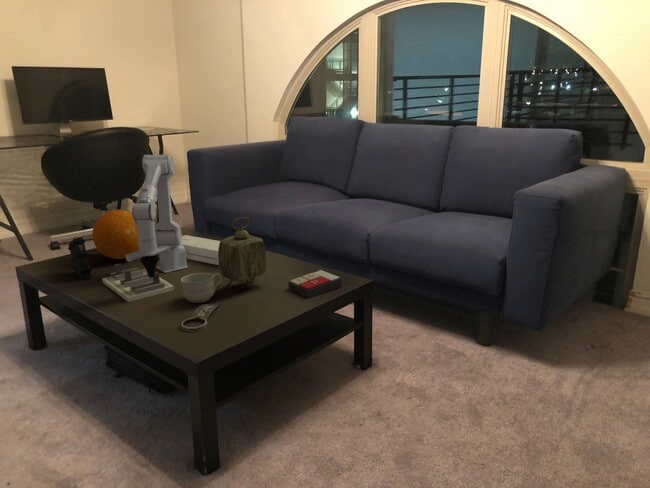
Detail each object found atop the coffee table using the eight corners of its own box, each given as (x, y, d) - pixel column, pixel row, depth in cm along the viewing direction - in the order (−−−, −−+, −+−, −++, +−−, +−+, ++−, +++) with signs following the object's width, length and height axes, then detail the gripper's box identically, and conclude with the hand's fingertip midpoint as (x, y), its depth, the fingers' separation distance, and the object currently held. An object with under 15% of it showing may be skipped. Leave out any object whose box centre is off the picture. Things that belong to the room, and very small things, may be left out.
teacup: (187, 308, 173) (184, 284, 171) (179, 297, 182) (176, 274, 180) (229, 300, 179) (227, 277, 177) (219, 289, 189) (218, 267, 186)
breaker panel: (145, 272, 206) (144, 265, 205) (173, 289, 189) (173, 281, 188) (102, 282, 196) (101, 274, 196) (128, 301, 179) (127, 293, 178)
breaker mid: (130, 282, 191) (129, 269, 190) (132, 283, 190) (130, 270, 189) (125, 283, 190) (123, 270, 189) (126, 285, 189) (125, 271, 188)
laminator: (167, 255, 228) (166, 241, 226) (188, 247, 238) (187, 234, 236) (230, 268, 211) (229, 253, 209) (250, 259, 221) (249, 245, 219)
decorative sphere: (100, 269, 211) (93, 218, 205) (92, 255, 227) (85, 208, 222) (152, 260, 220) (147, 212, 215) (141, 248, 237) (136, 202, 231)
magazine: (83, 278, 196) (73, 238, 197) (76, 284, 207) (66, 246, 207) (94, 276, 198) (83, 236, 199) (86, 282, 209) (76, 244, 210)
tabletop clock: (253, 278, 199) (250, 211, 191) (269, 284, 192) (266, 215, 185) (220, 289, 189) (215, 218, 182) (235, 296, 183) (231, 223, 176)
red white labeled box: (287, 280, 187) (321, 268, 196) (288, 291, 189) (321, 279, 198) (307, 288, 179) (341, 275, 188) (308, 300, 181) (342, 287, 190)
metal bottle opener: (224, 307, 175) (223, 301, 174) (202, 333, 157) (201, 327, 156) (201, 306, 176) (200, 300, 175) (176, 332, 158) (175, 326, 157)
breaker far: (121, 275, 198) (119, 263, 197) (122, 277, 197) (121, 264, 195) (115, 277, 197) (113, 264, 195) (117, 278, 196) (115, 265, 194)
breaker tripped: (158, 284, 189) (157, 271, 187) (160, 286, 188) (159, 273, 186) (153, 286, 188) (151, 273, 186) (155, 287, 186) (153, 274, 185)
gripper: (130, 245, 174) (134, 285, 178) (172, 236, 183) (176, 274, 187) (121, 240, 179) (126, 279, 183) (163, 232, 188) (167, 269, 192)
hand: (151, 276), depth 185 cm, fingers closed
